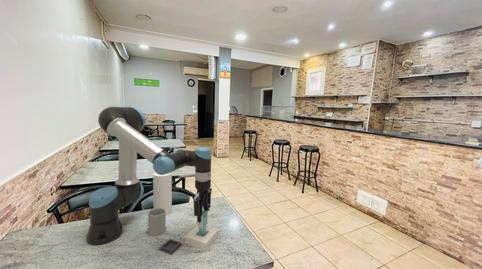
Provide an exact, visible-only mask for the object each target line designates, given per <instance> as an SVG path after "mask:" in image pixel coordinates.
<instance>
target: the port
mask: <svg viewBox="0 0 482 269" xmlns="http://www.w3.org/2000/svg"><path fill="white" fill-rule="evenodd" d="M219 231H220V230H219V229H218V228H214V227H211V226H208V225H206V233H205V234H200V233H199V228H198V227H197V225H196V226H195V227H194V228H193V229H191V230H190V231H189V232H188V233H187V234H186V235H185V236H184V244H186V245H187V246H192V247H195V248H197V249H201V250H204V251H207V250H208V249H209V248H210V246H211V245H212V244H213V243H214V241H216V239H218V237H219V234H220V233H219Z"/></svg>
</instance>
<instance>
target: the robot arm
mask: <svg viewBox="0 0 482 269" xmlns="http://www.w3.org/2000/svg"><path fill="white" fill-rule="evenodd" d="M145 116H146V115H145V114H144V112H143V111H142V110H141V109H139V108H136V107H131V106H127V107H126V106H124V107H123V106H108V107H106V108H104V109H103V110H101V111H100V113H99V115H98V119H97V122H98V125H99V128H100V129H101V130H102V131H104V132H105V133H106V134H107V135H109V136H111V137H115V138H116V139H118V179H116V180H115V182H114V184H115V185H114V186H105V187H101V188H97V189H96V190H94V191H93V192H92V193H91V194H90V195H89V200H88V201H89V202H88V206H89V220H90V222H89V223H90V224H89V227H88V231H87V233H86V242H87V243H88V244H89V245H91V246H92V245H93V246H101V245H105V244H108V243H111V242H113V241H115V240H117V239H118V238H120V237H121V236H122V234H123V233H124V229H123V227H124V226H123V224H122V222H121V221H120V218H119V210H122V209H123V208H126V207H127V206H129V205H132V204H133V203H136V202H137V201H139V200H140V199H141V198H142V197H143V194H144V185H143V183H142V181H140V179H139V178H138V177H137V163H138V161H137V159H138V157H137V156H138V155H137V154H139V156H142V157H143V158H144V159H146V160H147V161H148V162H150V163H151V164H152V169H153V170H154V173H155V172H156V173H157V174H159V175H165V174H168V173H171V172H174V171H177V170H180V169H181V168H183V167H193V168H194V180H195V181H194V187H195V189H196V195H195V196H193V197H192V200H193V216H195V217H196V219H197V221H196V222H197V223H196V226H197V227H198V228H203V215H202V211H206V212H207V215H206V225H208V222H209V221H208V216H209V215H208V214H209V211H210V210H211V209H210V208H211V203H212V191H213V190H212V189H213V188H211V186H212V180H211V178H212V149H211V148H210V147H207V146H199V147H196V148H195V149H194V150H187V149H183V148H182V149H174V150H173V152H172V153H169V152H168V151H166V150H165V149H163V148H162V147H161V146H160V145H158V144H156V143H155V142H153V141H152V140H151V139H149V138H148V137H146V135H144V134H142V133H141V129H142V128H143V127H144V126H145V125H146V117H145Z"/></svg>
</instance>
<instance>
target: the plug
mask: <svg viewBox="0 0 482 269" xmlns="http://www.w3.org/2000/svg"><path fill="white" fill-rule="evenodd" d="M202 215H203V228H199V233H200V234H205V233H206V226H207V224H206V215H207V212H206V211H203V210H202Z"/></svg>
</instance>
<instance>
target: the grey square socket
mask: <svg viewBox="0 0 482 269" xmlns="http://www.w3.org/2000/svg"><path fill="white" fill-rule="evenodd" d="M183 245H184V244H183V243H182V242H180V241H177V240H174V239H172V238H169V239H168V240H167V241H165V243H163V244H162V245H160V247H159V248H158V249H157V251H159V252H162V253H164V254H167V255H170V256H173V255H174V254H175V253H176V252H177V251H178V250H179V249H180V248H182V246H183Z"/></svg>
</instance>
